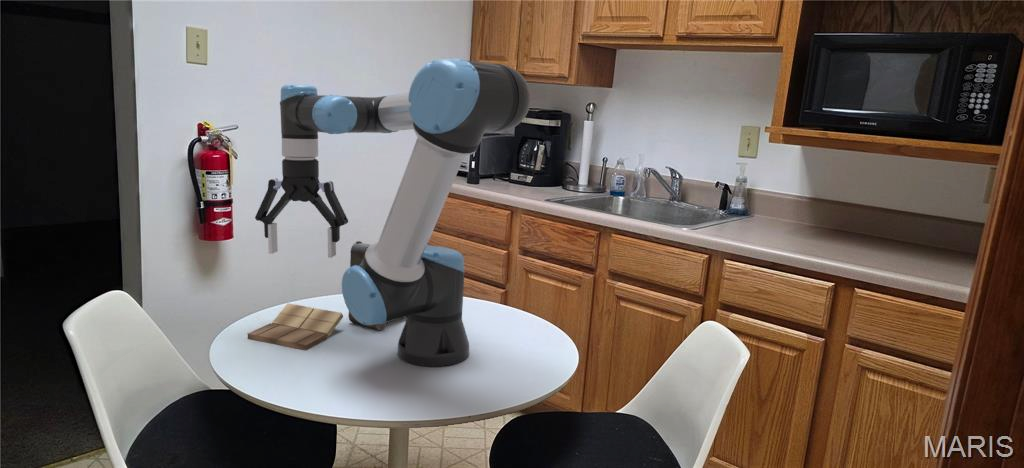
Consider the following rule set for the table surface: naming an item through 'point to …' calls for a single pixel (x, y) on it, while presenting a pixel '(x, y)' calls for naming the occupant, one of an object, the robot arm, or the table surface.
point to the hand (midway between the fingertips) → (302, 254)
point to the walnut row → (287, 336)
